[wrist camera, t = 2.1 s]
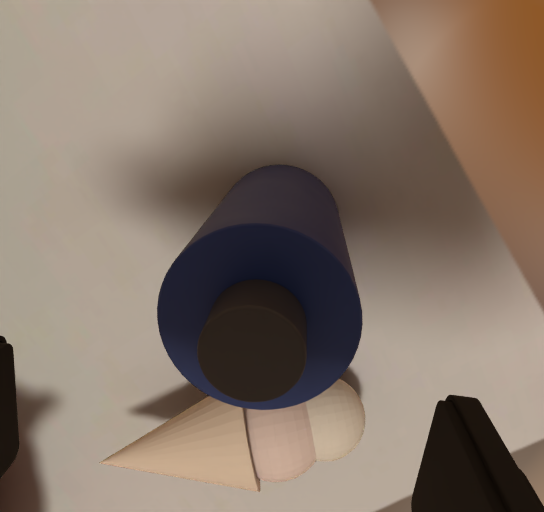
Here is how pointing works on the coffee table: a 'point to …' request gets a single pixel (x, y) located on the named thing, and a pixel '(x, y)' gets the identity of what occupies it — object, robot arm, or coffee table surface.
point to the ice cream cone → (249, 440)
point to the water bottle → (264, 295)
